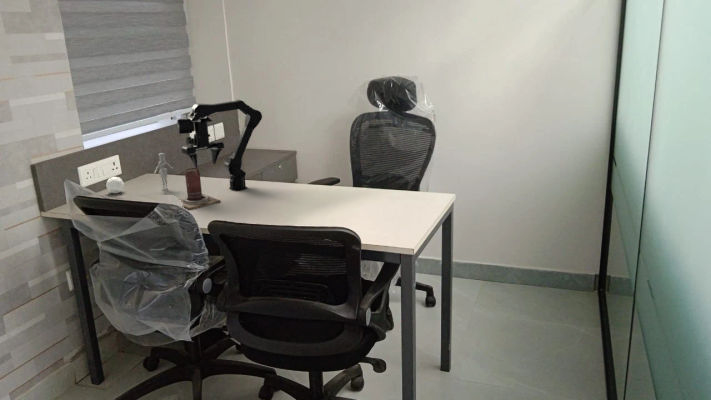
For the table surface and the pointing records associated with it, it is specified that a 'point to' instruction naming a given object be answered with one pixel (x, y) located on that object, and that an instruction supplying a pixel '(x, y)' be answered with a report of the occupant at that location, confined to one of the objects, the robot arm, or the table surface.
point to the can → (193, 184)
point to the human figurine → (162, 170)
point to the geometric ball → (115, 185)
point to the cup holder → (199, 202)
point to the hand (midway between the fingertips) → (205, 165)
